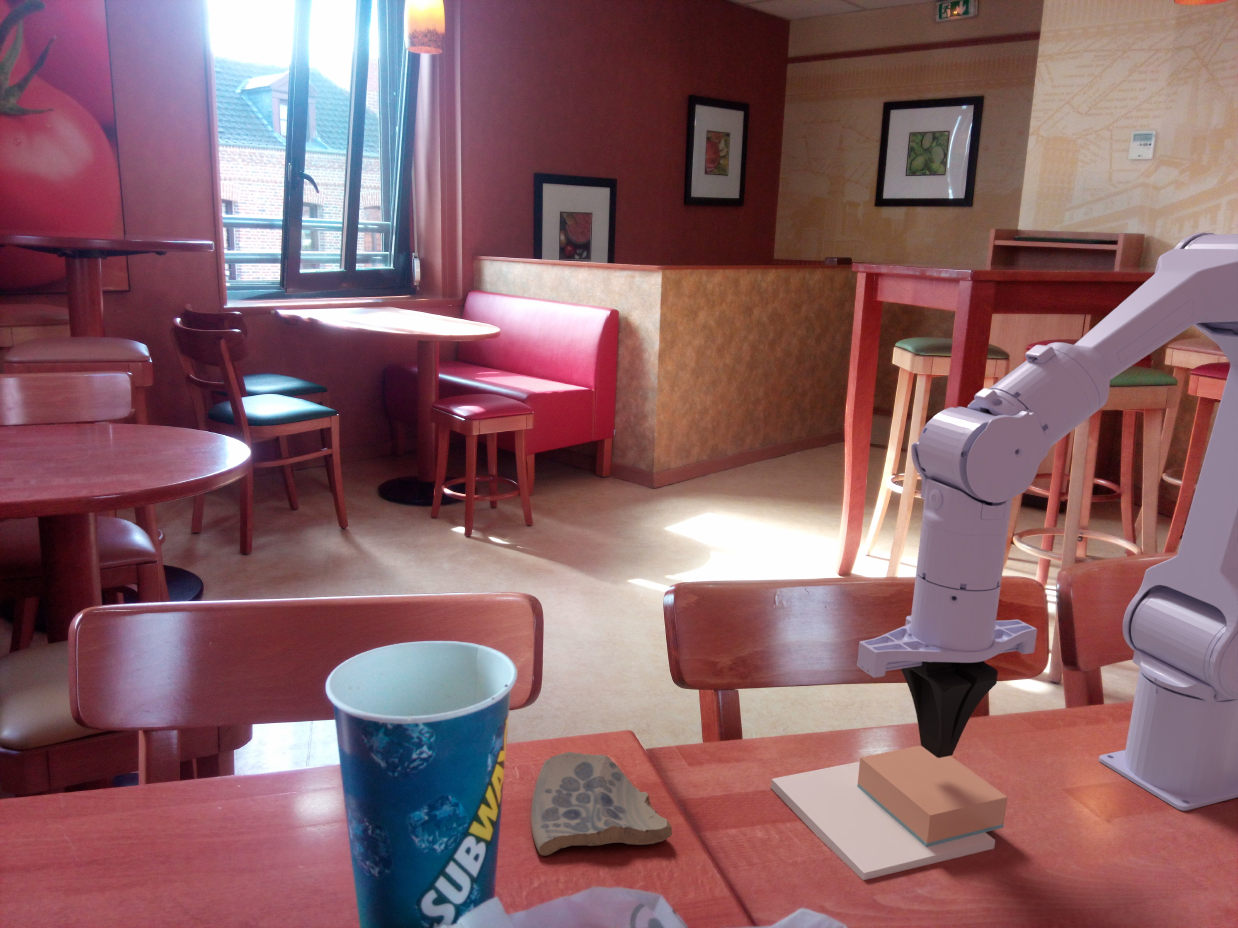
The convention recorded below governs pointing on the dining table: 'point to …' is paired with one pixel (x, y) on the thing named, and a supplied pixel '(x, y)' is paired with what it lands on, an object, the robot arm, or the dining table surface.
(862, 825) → the pale grey mat
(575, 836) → the ceramic fragment
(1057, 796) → the dining table surface
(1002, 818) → the glazed tile
